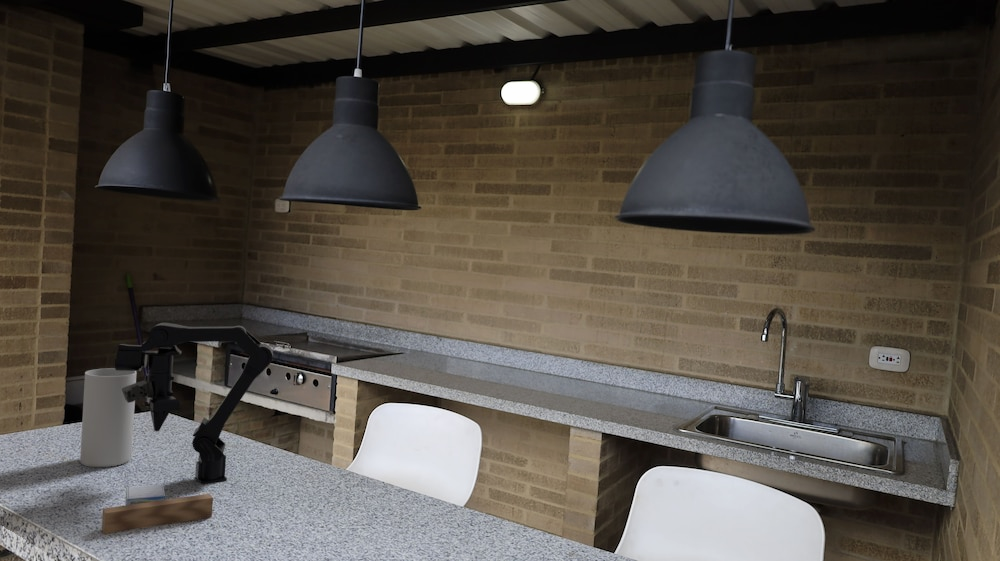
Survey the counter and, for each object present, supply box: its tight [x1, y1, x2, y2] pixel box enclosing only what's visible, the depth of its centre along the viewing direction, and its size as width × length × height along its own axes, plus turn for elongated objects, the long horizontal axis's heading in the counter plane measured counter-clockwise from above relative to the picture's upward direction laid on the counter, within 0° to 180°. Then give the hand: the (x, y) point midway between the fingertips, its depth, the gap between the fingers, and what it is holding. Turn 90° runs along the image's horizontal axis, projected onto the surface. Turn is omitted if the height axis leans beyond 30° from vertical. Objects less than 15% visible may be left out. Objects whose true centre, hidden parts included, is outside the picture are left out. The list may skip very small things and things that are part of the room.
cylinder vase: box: [79, 367, 138, 468], centre depth 195 cm, size 12×12×25 cm
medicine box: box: [125, 483, 166, 505], centre depth 163 cm, size 8×4×9 cm
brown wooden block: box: [101, 493, 214, 535], centre depth 157 cm, size 22×3×4 cm, turn 128°
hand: (156, 430), depth 183 cm, fingers closed
